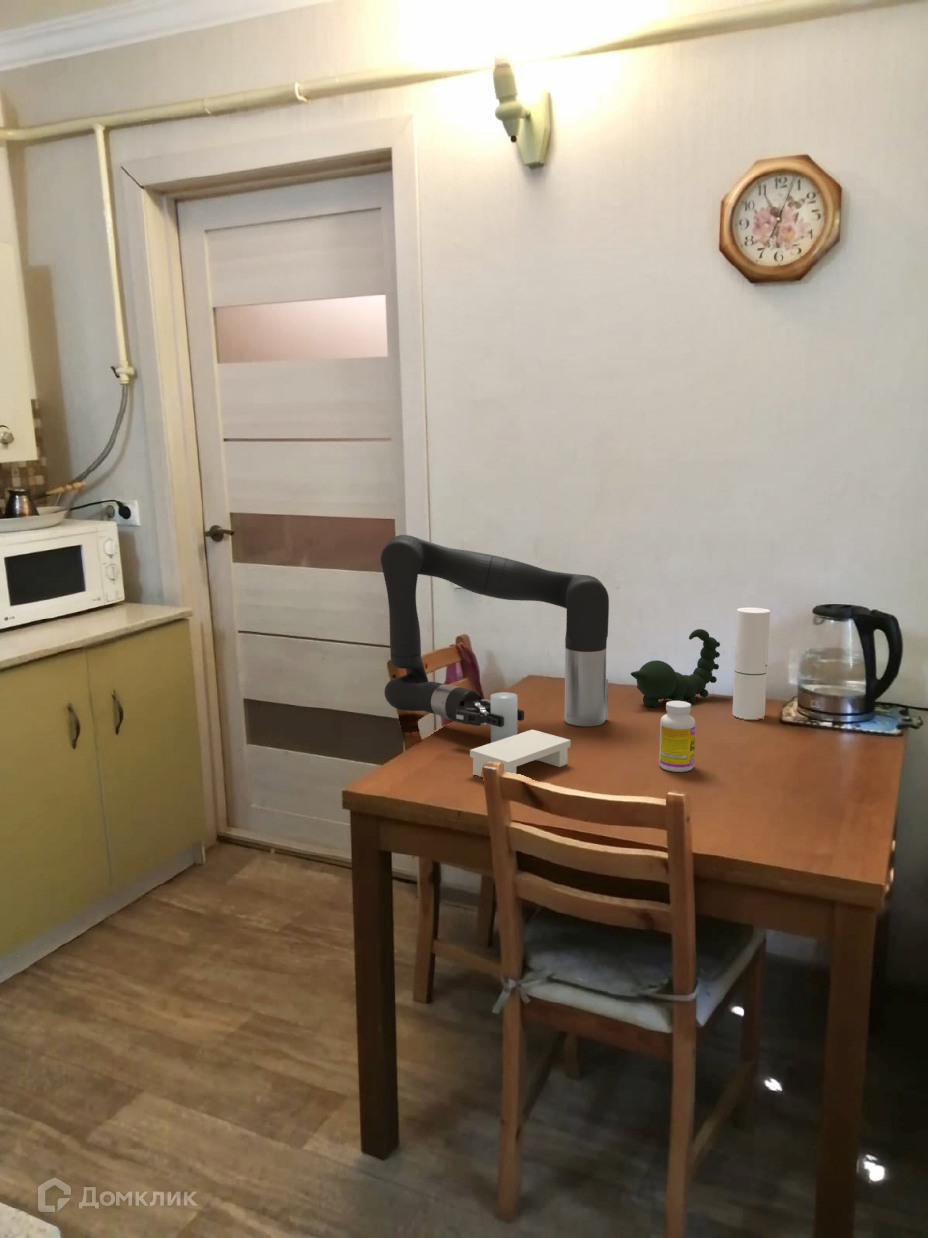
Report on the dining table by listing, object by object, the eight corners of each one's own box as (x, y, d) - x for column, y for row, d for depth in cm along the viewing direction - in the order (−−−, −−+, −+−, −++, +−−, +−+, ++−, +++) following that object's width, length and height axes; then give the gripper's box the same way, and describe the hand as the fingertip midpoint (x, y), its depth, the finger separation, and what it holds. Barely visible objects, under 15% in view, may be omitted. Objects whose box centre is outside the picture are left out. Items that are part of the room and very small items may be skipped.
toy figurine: (696, 699, 235) (615, 702, 224) (705, 625, 232) (623, 626, 221) (722, 708, 226) (639, 712, 215) (731, 632, 224) (647, 632, 213)
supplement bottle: (694, 774, 176) (696, 709, 174) (659, 772, 178) (661, 707, 175) (693, 762, 183) (695, 700, 181) (659, 760, 184) (660, 698, 182)
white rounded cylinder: (503, 740, 198) (503, 690, 196) (523, 746, 194) (523, 695, 192) (485, 746, 194) (484, 696, 192) (504, 752, 190) (504, 701, 188)
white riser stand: (532, 752, 190) (532, 729, 189) (570, 764, 183) (570, 740, 182) (470, 774, 177) (470, 750, 176) (508, 788, 170) (508, 762, 169)
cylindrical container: (768, 715, 215) (773, 609, 210) (759, 722, 209) (765, 614, 204) (737, 710, 218) (742, 606, 214) (728, 718, 212) (733, 611, 208)
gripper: (432, 693, 197) (489, 708, 185) (479, 681, 207) (536, 694, 195) (432, 727, 198) (489, 744, 187) (479, 713, 208) (535, 728, 196)
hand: (512, 718), depth 191 cm, fingers closed on white rounded cylinder, 5 cm apart
